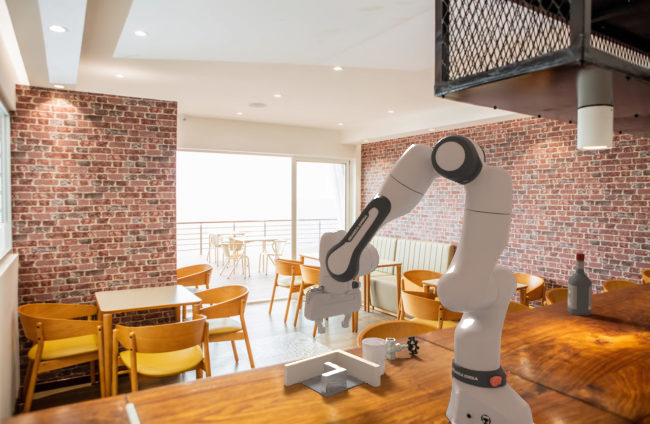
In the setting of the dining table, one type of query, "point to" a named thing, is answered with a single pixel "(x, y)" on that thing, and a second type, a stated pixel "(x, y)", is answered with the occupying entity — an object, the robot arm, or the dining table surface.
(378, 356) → the white cup
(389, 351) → the valve
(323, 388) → the bracket
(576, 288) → the liquor
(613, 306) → the dining table surface
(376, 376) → the corner walls
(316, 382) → the mat
